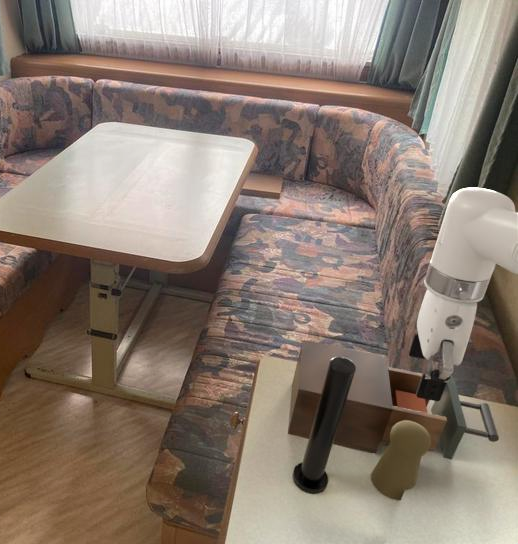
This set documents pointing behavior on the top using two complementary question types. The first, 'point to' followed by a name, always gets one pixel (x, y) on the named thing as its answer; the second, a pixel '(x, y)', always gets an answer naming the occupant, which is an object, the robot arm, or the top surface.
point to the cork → (401, 459)
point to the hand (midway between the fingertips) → (423, 376)
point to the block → (408, 401)
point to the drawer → (438, 414)
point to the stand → (325, 427)
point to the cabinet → (360, 401)
